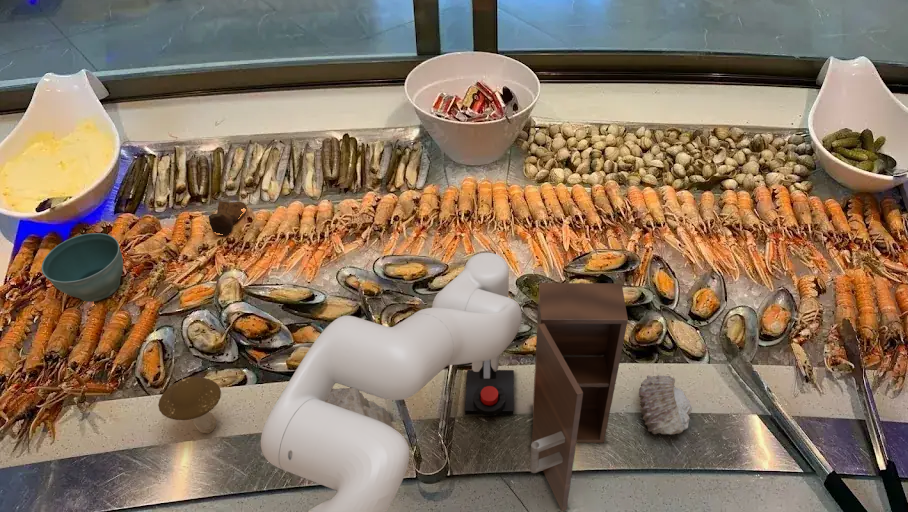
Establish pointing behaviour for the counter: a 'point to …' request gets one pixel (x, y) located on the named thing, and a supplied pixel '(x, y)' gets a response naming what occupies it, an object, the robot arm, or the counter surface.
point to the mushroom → (192, 402)
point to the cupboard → (587, 344)
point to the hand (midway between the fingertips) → (487, 375)
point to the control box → (501, 383)
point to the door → (554, 417)
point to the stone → (358, 404)
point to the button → (489, 395)
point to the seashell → (664, 405)
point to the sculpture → (226, 217)
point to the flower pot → (85, 266)
